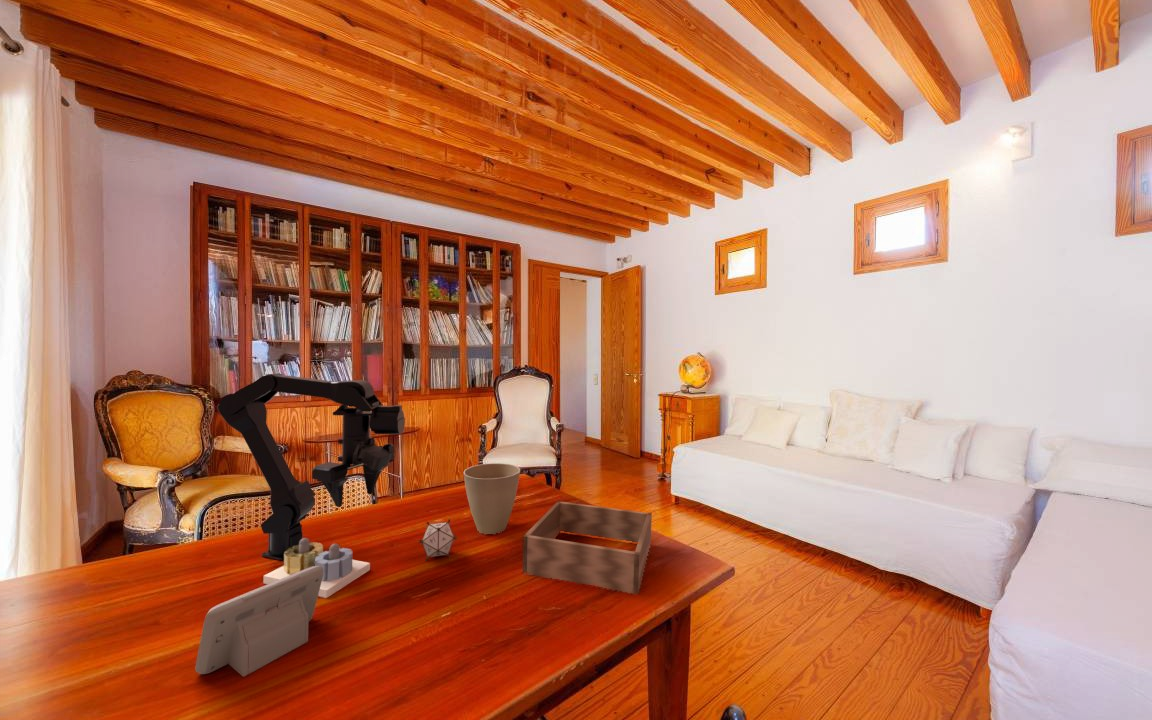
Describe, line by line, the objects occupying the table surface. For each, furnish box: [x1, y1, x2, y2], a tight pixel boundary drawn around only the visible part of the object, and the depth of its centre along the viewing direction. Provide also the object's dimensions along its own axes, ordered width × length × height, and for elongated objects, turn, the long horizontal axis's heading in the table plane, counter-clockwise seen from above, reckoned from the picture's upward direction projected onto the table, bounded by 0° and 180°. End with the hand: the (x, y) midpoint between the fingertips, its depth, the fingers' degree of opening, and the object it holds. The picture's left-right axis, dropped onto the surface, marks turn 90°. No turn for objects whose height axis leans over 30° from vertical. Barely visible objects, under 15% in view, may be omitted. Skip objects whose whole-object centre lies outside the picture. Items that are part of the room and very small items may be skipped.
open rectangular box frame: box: [522, 500, 653, 595], centre depth 98 cm, size 25×23×10 cm
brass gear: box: [283, 541, 324, 574], centre depth 88 cm, size 7×7×4 cm
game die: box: [418, 518, 458, 561], centre depth 97 cm, size 9×8×10 cm
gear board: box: [262, 537, 371, 599], centre depth 87 cm, size 16×11×7 cm
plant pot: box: [463, 462, 521, 535], centre depth 112 cm, size 15×15×16 cm
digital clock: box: [194, 566, 323, 677], centre depth 66 cm, size 16×9×11 cm, turn 138°
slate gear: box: [315, 547, 353, 582], centre depth 86 cm, size 7×7×4 cm
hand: (355, 500), depth 98 cm, fingers open, 9 cm apart
